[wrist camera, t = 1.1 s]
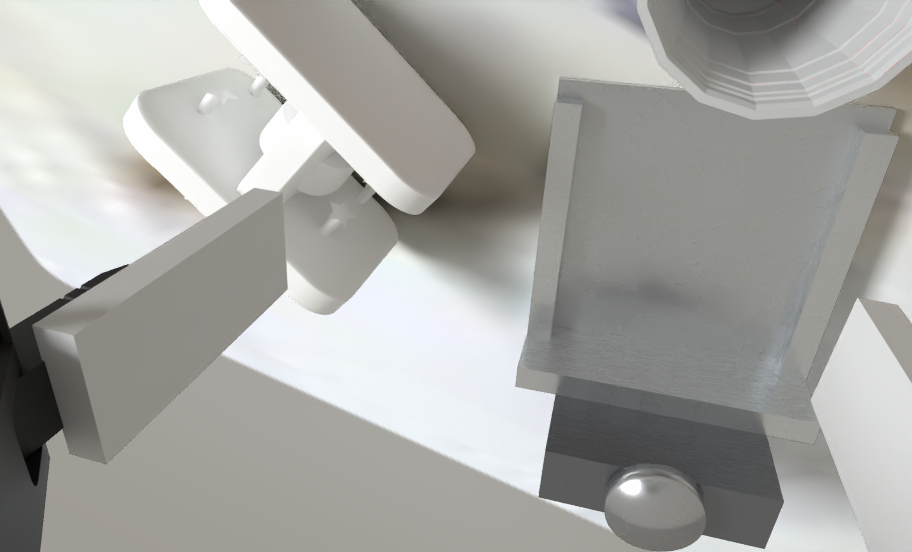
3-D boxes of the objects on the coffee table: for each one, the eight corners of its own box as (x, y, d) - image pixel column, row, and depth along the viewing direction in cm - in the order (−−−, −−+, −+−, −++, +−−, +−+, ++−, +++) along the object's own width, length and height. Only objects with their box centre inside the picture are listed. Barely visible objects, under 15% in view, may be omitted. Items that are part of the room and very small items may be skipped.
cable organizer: (496, 149, 38) (446, 219, 28) (387, 247, 43) (313, 335, 33) (319, -45, 36) (196, -43, 26) (227, 83, 41) (94, 126, 31)
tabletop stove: (560, 77, 35) (527, 130, 25) (892, 107, 32) (1017, 183, 21) (524, 383, 46) (490, 512, 35) (772, 431, 42) (817, 590, 32)
